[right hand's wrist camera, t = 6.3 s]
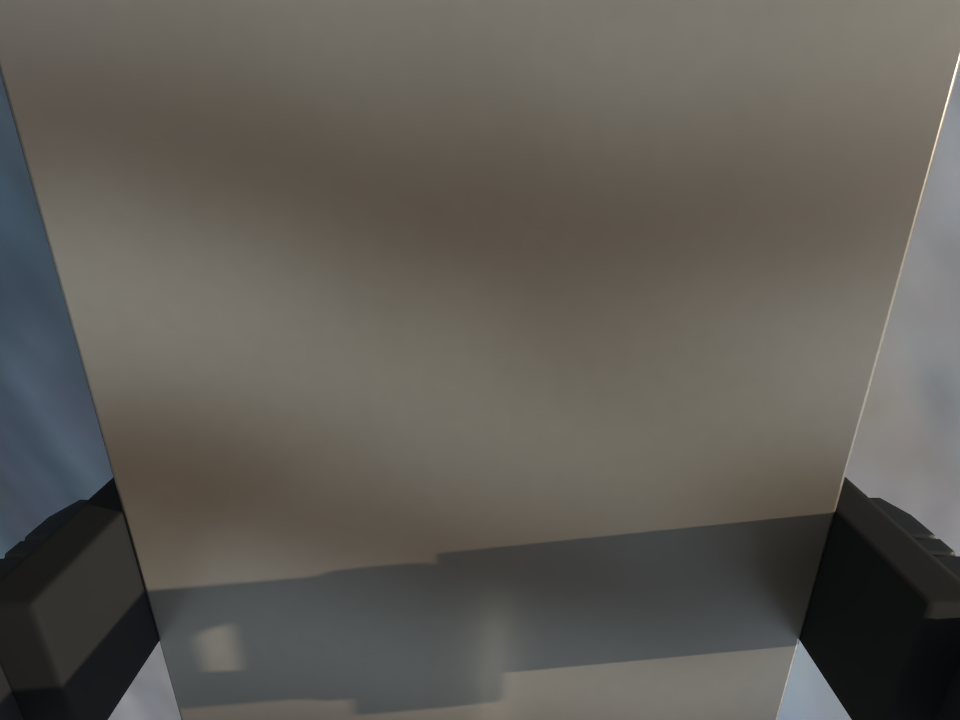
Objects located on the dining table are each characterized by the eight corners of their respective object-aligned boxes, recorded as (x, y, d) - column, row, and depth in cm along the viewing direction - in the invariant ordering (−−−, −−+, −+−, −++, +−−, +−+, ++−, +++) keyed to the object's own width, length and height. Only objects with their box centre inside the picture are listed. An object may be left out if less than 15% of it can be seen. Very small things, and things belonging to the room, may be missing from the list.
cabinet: (193, -396, 11) (-531, -1792, 3) (762, -395, 11) (1479, -1781, 3) (311, 494, 18) (186, 746, 10) (648, 493, 18) (772, 745, 10)
